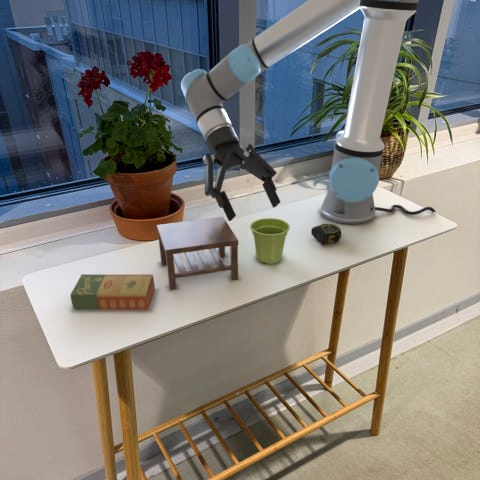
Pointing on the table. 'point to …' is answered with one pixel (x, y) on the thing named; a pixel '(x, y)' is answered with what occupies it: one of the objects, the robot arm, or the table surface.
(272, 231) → the plant pot
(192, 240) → the coffee table
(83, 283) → the carton
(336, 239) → the tape measure
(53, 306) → the table surface
